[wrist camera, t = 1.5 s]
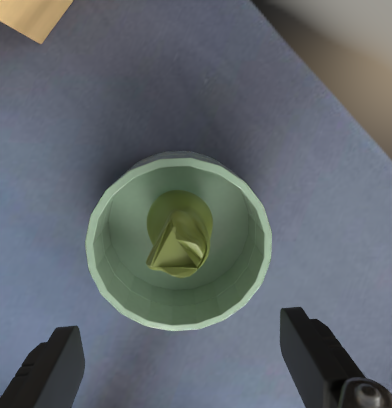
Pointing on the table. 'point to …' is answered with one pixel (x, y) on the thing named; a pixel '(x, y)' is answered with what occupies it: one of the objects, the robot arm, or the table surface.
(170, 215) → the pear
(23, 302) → the table surface
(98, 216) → the pot
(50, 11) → the block
